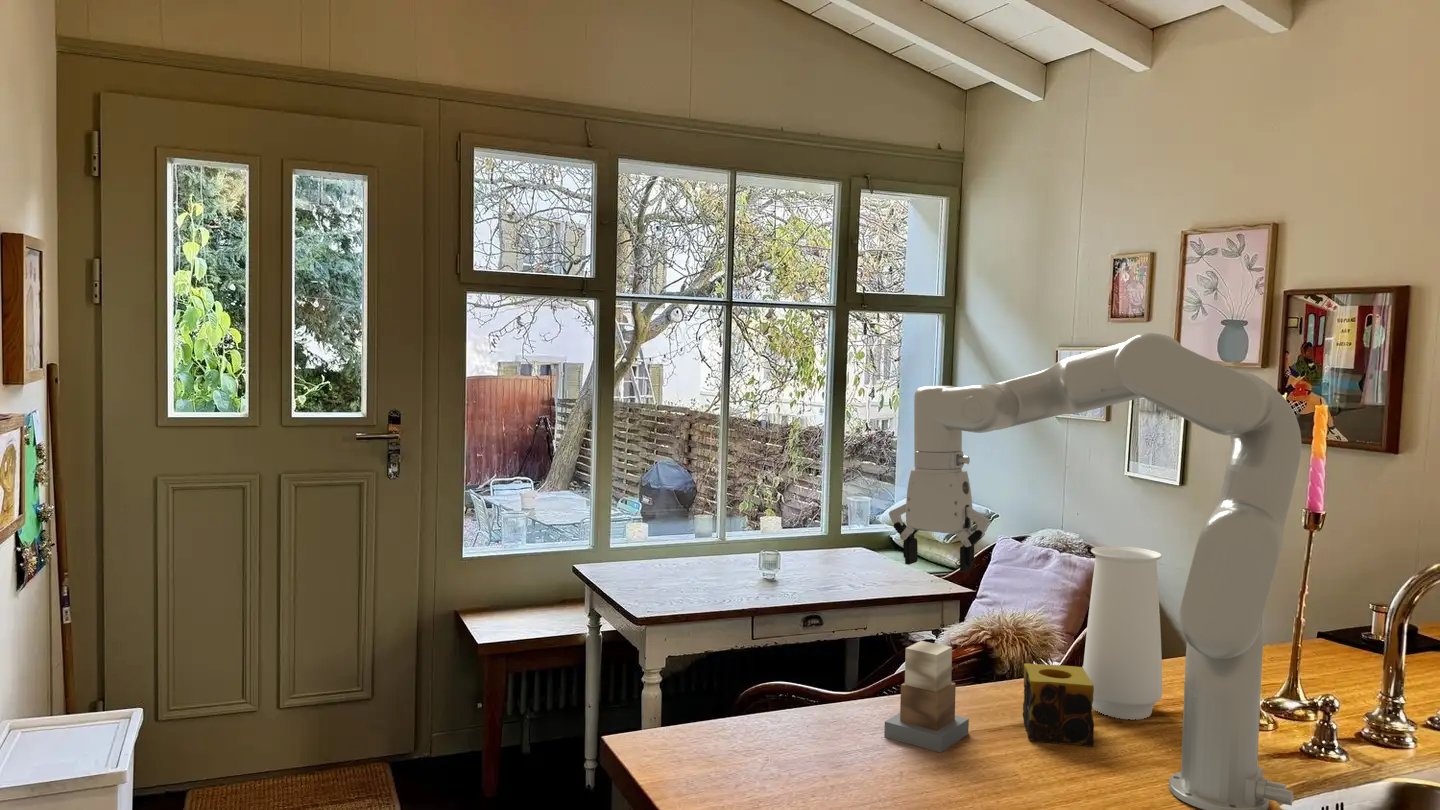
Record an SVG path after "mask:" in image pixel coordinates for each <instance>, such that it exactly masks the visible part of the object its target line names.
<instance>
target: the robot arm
mask: <svg viewBox="0 0 1440 810" xmlns="http://www.w3.org/2000/svg"><path fill="white" fill-rule="evenodd" d="M913 396H914V397H913V400H914V401H913V403H914V406H913V407H914V408H913V410H914V415H913V416H914V417H913V420H914V423H913V425H914V426H913V427H914V428H913V429H914V430H913V432H914V437H913V439H914V442H913V444H914V445H913V446H914V448H913V449H914V451H913V452H914V456H913V457H914V458H913V459H914V461H913V462H914V466H913V467H914V468H913V469H911V470H910V475H909V478H908V483H907V490H906V491H907V492H906V500H905V501H906V502H905V504H902V505H901V506H898V507H896V508H894V509H892V510H890V511H889V512H888V515H889V518H890V521H891V522H892V524H893V529H894V530H895V531H896V532H897V533H898V535H899V536H900V539H901V540H903V547H902V548H903V558H904V563H905V565H908V566H909V565H913V564H915V563H917V562H918V560H919V559H918V555H919V554H918V538H917V537H915V536H916V535H917V533H918V532H919V531H921V532H922V531H923V532H931V533H938V534H939V533H941V534H942V533H943V534H950V535H952V534H953V535H956V537H957V538H958V539H959V541H960V542H961V544H962V546H960V548H959V570H960V571H961V572H964V573H965V572H968V571H970V570H972V569H973V566H974V565H975V545H976V544H978V542H979V541H980V540H981V539H982V538H983V537H984V536H985V534H986V532H987V530H988V528H989V527H990V525H991V520H990V518H988V517H987V516H984V515H983V514H982V513H980V512H979V511H977V510H975V509H973V508H974V507H973V499H972V490H971V483H970V479H969V474H968V470H965V469H964V470H963V468H964V466H965V465H969V464H970V462H971V460H970V456H969V455H968V456H967V455H964V452H963V450H962V449H963V448H962V447H963V444H962V443H963V438H962V437H963V436H962V435H963V431H964V432H968V433H977V434H983V433H989V432H993V431H1000V430H1003V429H1008V428H1012V427H1017V426H1020V425H1023V424H1029V423H1032V422H1036V421H1040V420H1044V419H1047V418H1048V419H1049V418H1053V417H1057V416H1063V415H1076V414H1080V413H1085V412H1089V411H1092V410H1097V409H1101V408H1105V407H1109V406H1113V405H1117V404H1121V403H1126V402H1130V401H1134V400H1139V399H1142V398H1143V399H1144V400H1147V401H1148V402H1151V403H1152V404H1154V405H1156V406H1158V407H1160V408H1162V409H1164V410H1167V411H1168V412H1170V413H1173V414H1175V415H1176V416H1179V417H1180V418H1183V419H1185V420H1187V421H1188V422H1191V423H1193V424H1194V425H1196V426H1198V427H1200V428H1203V429H1204V430H1207V431H1209V432H1211V433H1214V434H1218V435H1223V436H1229V437H1230V443H1231V445H1230V447H1231V448H1230V452H1229V457H1228V460H1227V463H1226V466H1225V471H1224V474H1223V475H1224V476H1223V481H1222V485H1221V489H1220V491H1219V496H1218V498H1217V502H1216V504H1215V508H1214V510H1213V512H1212V513H1211V514H1210V516H1209V517H1208V519H1207V520H1206V521H1205V522H1204V524H1203V525H1202V527H1201V530H1200V533H1199V535H1198V538H1197V541H1196V545H1195V549H1194V553H1193V557H1192V560H1191V565H1190V568H1189V572H1188V576H1187V580H1186V584H1185V587H1184V590H1183V595H1182V598H1181V599H1182V600H1181V603H1180V607H1179V611H1178V624H1179V628H1180V632H1181V634H1182V636H1183V637H1184V639H1185V640H1186V649H1185V667H1184V682H1183V683H1184V685H1183V709H1182V710H1183V712H1182V714H1183V717H1182V740H1181V743H1182V744H1181V767H1180V769H1181V770H1180V771H1178V772H1175V773H1174V774H1172V775H1171V776H1169V779H1168V788H1169V791H1170V792H1171V794H1173V795H1174V797H1176V798H1177V799H1178V800H1180V801H1182V802H1184V803H1186V804H1188V805H1190V806H1192V807H1195V808H1198V809H1200V810H1268V809H1269V807H1270V801H1274V802H1276V803H1279V804H1282V805H1286V806H1290V807H1291V806H1293V803H1294V801H1293V800H1294V791H1293V790H1289V789H1287V785H1286V784H1284V783H1280V782H1276V781H1275V782H1274V781H1271V780H1268V778H1267V777H1264V768H1263V767H1260V766H1258V765H1259V764H1258V763H1259V762H1258V760H1259V741H1260V740H1259V738H1260V737H1259V736H1260V711H1261V694H1262V673H1263V671H1262V670H1263V655H1264V654H1263V653H1264V651H1263V649H1264V641H1265V639H1264V637H1265V627H1266V610H1265V609H1266V607H1267V606H1266V605H1267V602H1268V600H1269V599H1268V598H1269V595H1270V592H1271V589H1272V585H1273V580H1274V577H1275V573H1276V570H1277V566H1278V563H1279V559H1280V556H1281V552H1282V549H1283V546H1284V531H1285V526H1286V522H1287V517H1288V514H1289V513H1288V512H1289V509H1290V505H1291V501H1292V497H1293V494H1294V488H1295V484H1296V479H1297V477H1298V471H1299V467H1300V463H1301V462H1300V461H1301V456H1302V455H1301V454H1302V436H1301V435H1302V433H1301V429H1300V425H1299V422H1298V419H1297V418H1298V417H1297V416H1296V414H1295V412H1294V410H1293V408H1292V406H1291V405H1290V403H1289V402H1288V400H1287V399H1286V398H1285V397H1284V396H1283V395H1282V394H1281V393H1280V392H1279V391H1278V390H1277V389H1276V388H1275V387H1274V386H1272V385H1271V384H1269V383H1268V382H1267V381H1266V380H1264V378H1263V379H1262V378H1261V377H1260V376H1258V375H1255V374H1253V373H1251V372H1248V371H1247V372H1246V371H1242V370H1236V369H1235V370H1234V369H1232V368H1230V367H1227V366H1225V365H1224V364H1220V363H1218V362H1216V361H1214V360H1212V359H1209V358H1207V357H1205V356H1203V355H1200V354H1199V353H1197V352H1194V351H1193V350H1190V349H1188V348H1186V347H1184V346H1183V345H1182V344H1181V343H1180V342H1179V341H1178V340H1176V339H1175V338H1173V337H1171V336H1169V335H1166V334H1161V333H1154V332H1148V333H1141V334H1137V335H1135V336H1132V337H1131V338H1129V339H1127V340H1126V341H1123V342H1120V343H1117V344H1114V345H1110V346H1106V347H1101V348H1099V349H1096V350H1092V351H1088V352H1084V353H1080V354H1076V355H1072V356H1067V357H1065V358H1063V359H1061V360H1059V361H1057V362H1056V363H1055V364H1053V365H1051V366H1050V367H1048V368H1046V369H1043V370H1041V371H1040V370H1039V371H1037V372H1034V373H1031V374H1027V375H1024V376H1020V377H1016V378H1013V379H1008V380H1005V381H1001V382H997V383H984V384H975V385H974V384H973V385H968V386H960V387H959V386H958V387H956V386H954V385H953V386H952V385H925V386H921V387H918V388H917V389H916V390H915V392H914V395H913ZM904 514H905V522H903V519H902V515H904ZM974 522H975V523H976V525H977V527H976V529H975V530H974V531H973V532H972V530H971V529H972V528H973V526H974ZM905 523H906V524H905Z"/></svg>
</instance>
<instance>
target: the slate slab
mask: <svg viewBox="0 0 1440 810" xmlns="http://www.w3.org/2000/svg"><path fill="white" fill-rule="evenodd" d="M969 723H970V719H969V718H967V717H963V716H959V715H956V714H955V720H953V721H952V722H950V723H949V724H947V725H945V726H944V727H942V728H941V729H939V730H938V731H935V730H931V729H927V728H924V727H920V726H916V725H912V724H909V723H905V722H901V721H900V712H899V713H897V714H895V715H894V716H891V717H889V718H888V719H887V720H885V721H884V731H883V732H884V734H883V736H884V737H883V738H888V739H891V740H894V741H899V742H903V743H906V744H909V745H912V746H915V747H916V746H917V747H920V748H924V749H927V750H931V751H934V752H938V753H941V754H942V753H943V752H945V751H946V750H947V749H949V748H950V747H952V746H953V745H955V744H956V743H957V742H959V741H961V739H963V738H964V737H966V736H967V735H969V725H970V724H969Z"/></svg>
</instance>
